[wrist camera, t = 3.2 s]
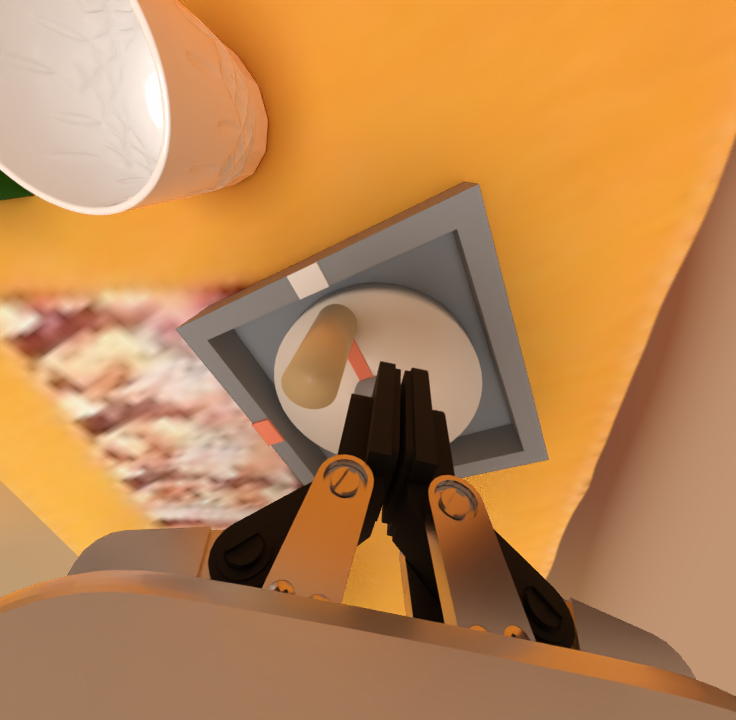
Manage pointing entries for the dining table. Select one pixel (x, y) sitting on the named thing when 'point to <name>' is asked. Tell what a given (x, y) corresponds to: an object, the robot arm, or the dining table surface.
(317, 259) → the dial housing
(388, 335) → the dial
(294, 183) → the dining table surface
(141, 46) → the white cup
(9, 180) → the milk carton
